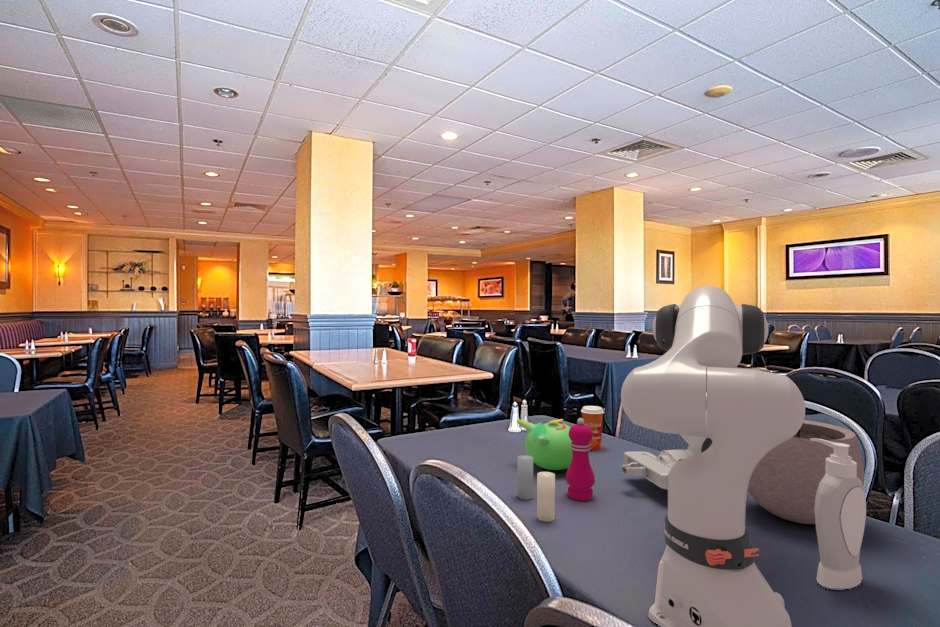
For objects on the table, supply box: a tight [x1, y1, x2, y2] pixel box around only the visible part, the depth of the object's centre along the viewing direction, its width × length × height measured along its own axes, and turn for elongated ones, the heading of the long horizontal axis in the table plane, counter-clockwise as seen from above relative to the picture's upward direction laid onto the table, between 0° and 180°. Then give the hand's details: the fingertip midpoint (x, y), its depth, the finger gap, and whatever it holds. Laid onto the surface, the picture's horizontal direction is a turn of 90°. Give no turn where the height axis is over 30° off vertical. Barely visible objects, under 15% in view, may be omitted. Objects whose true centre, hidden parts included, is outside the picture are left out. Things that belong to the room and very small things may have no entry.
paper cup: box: [580, 405, 605, 451], centre depth 168 cm, size 8×8×14 cm
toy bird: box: [516, 418, 572, 471], centre depth 148 cm, size 18×17×15 cm
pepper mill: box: [565, 417, 596, 501], centre depth 126 cm, size 7×7×20 cm
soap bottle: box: [810, 438, 867, 588], centre depth 88 cm, size 13×8×24 cm, turn 115°
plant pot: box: [747, 387, 865, 525], centre depth 113 cm, size 24×24×30 cm
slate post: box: [516, 454, 534, 501], centre depth 126 cm, size 4×4×10 cm
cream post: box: [536, 471, 556, 523], centre depth 113 cm, size 4×4×10 cm
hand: (624, 470), depth 128 cm, fingers closed
